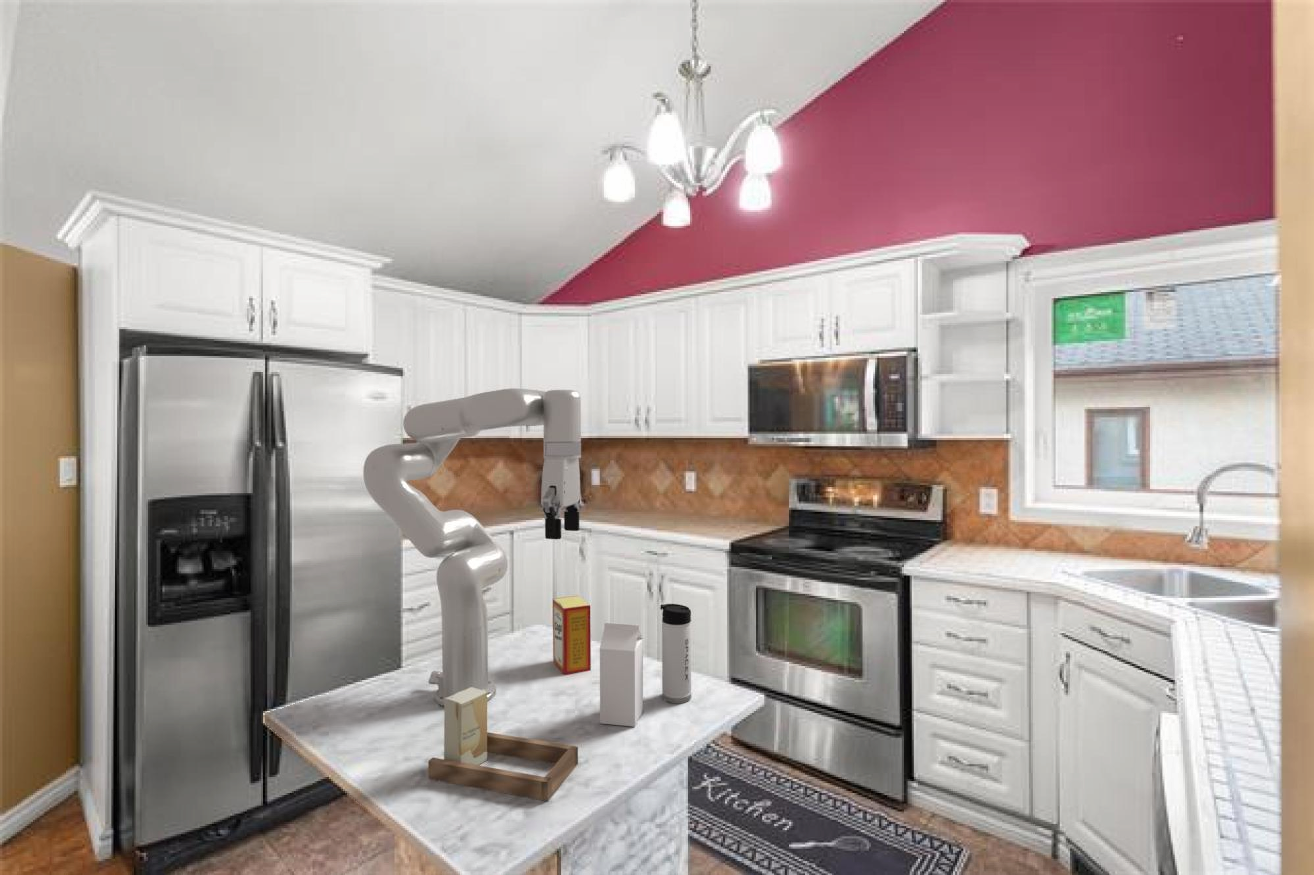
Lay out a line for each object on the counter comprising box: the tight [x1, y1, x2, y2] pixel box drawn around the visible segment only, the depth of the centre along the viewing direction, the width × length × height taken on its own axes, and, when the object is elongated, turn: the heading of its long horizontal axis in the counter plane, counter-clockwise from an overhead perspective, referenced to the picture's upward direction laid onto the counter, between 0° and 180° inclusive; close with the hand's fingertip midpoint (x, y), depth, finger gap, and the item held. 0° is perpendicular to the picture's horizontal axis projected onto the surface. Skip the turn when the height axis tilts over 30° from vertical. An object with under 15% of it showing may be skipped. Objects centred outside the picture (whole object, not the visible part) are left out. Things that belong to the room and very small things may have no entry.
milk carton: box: [599, 622, 644, 727], centre depth 127 cm, size 7×7×19 cm
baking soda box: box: [552, 595, 592, 676], centre depth 154 cm, size 10×6×16 cm
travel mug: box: [659, 603, 692, 704], centre depth 136 cm, size 6×7×20 cm
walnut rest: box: [427, 731, 579, 802], centre depth 108 cm, size 22×11×3 cm, turn 73°
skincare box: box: [443, 687, 488, 766], centre depth 110 cm, size 6×4×12 cm
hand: (562, 534), depth 130 cm, fingers open, 9 cm apart
